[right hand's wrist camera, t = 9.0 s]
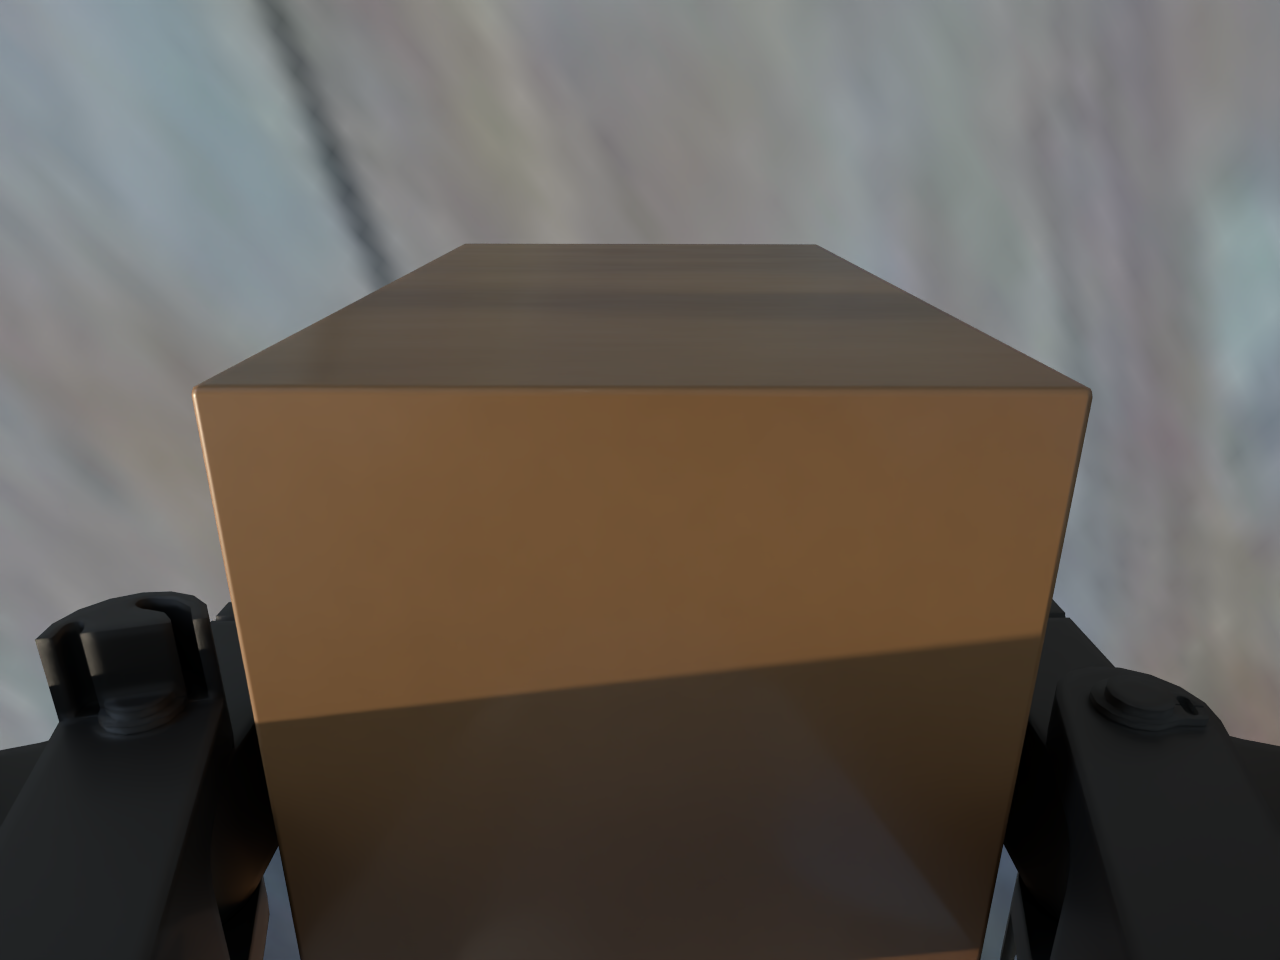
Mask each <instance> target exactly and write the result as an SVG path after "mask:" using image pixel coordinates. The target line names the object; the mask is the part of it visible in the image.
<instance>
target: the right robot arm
mask: <svg viewBox="0 0 1280 960" xmlns="http://www.w3.org/2000/svg"><path fill="white" fill-rule="evenodd" d="M35 641H36V644H37V648H38V651H39V655H40V658H41V661H42V665H43V668H44V672H45V675H46V678H47V682H48V685H49V688H50V692H51V695H52V699H53V702H54V705H55V709H56V712H57V716H58V719H59V723H58V725H57V727H56V729H55V730H54V732H53V734H52V736H51V738H50V739H49V741H45V742H41V743H37V744H31V745H26V746H21V747H16V748H10V749H5V750H0V960H263V956H264V949H265V942H266V935H267V928H268V921H269V906H268V899H267V893H266V888H265V883H264V878H263V874H264V873H265V871H266V869H267V867H268V865H269V863H270V861H271V859H272V857H273V855H274V853H275V851H276V849H277V848H278V846H279V845H278V840H277V835H276V829H275V824H274V819H273V814H272V809H271V804H270V798H269V793H268V788H267V783H266V778H265V772H264V767H263V762H262V757H261V752H260V747H259V741H258V736H257V731H256V726H255V721H254V716H253V710H252V705H251V700H250V695H249V690H248V684H247V679H246V674H245V669H244V664H243V659H242V653H241V648H240V643H239V638H238V633H237V627H236V622H235V617H234V612H233V607H232V602H229V603H228V604H227V605H226V606H225V607H224V608H223V609H222V610H221V611H220V612H219V614H218V615H217V616H216V621H211V622H210V619H209V614H208V610H207V605H206V604H205V603H203V602H202V601H201V600H199V599H198V598H196V597H195V596H193V595H187V594H182V593H177V592H146V593H138V594H133V595H128V596H123V597H117V598H112V599H109V600H106V601H103V602H100V603H97V604H94V605H91V606H88V607H85V608H82V609H79V610H77V611H75V612H74V613H72V614H70V615H68V616H66V617H64V618H62V619H61V620H59V621H57V622H55V623H53V624H52V625H51V626H50V627H48V628H47V629H46V630H45V631H44V632H43V633H42V634H41V635H40V636H39V637H38V638H37V639H35ZM1003 844H1004V846H1005V848H1006V850H1007V851H1008V853H1009V855H1010V857H1011V859H1012V861H1013V863H1014V865H1015V867H1016V869H1017V871H1018V874H1017V878H1016V883H1015V888H1014V893H1013V898H1012V902H1011V907H1010V912H1009V917H1008V922H1007V926H1006V931H1005V936H1004V941H1003V946H1002V950H1001V957H1000V960H1014V957H1015V955H1016V954H1017V960H1280V746H1276V745H1270V744H1265V743H1260V742H1255V741H1249V740H1244V739H1240V738H1236V737H1232V736H1229V734H1228V732H1227V731H1226V729H1225V727H1224V725H1223V724H1222V722H1221V720H1220V719H1219V718H1218V717H1217V716H1216V715H1215V713H1214V712H1213V711H1212V710H1211V709H1210V708H1209V707H1208V706H1207V704H1206V703H1204V702H1203V701H1201V700H1200V699H1198V698H1197V697H1195V696H1194V695H1192V694H1190V693H1189V692H1187V691H1186V690H1184V689H1183V688H1181V687H1179V686H1177V685H1174V684H1172V683H1169V682H1167V681H1164V680H1162V679H1160V678H1157V677H1155V676H1152V675H1149V674H1145V673H1141V672H1136V671H1132V670H1127V669H1123V668H1115V667H1114V666H1113V665H1112V663H1111V662H1110V661H1109V660H1108V659H1107V658H1106V657H1105V656H1104V655H1103V654H1102V653H1101V651H1100V650H1099V649H1098V648H1097V647H1096V646H1095V645H1094V644H1093V643H1092V642H1091V641H1090V639H1089V638H1088V637H1087V636H1086V635H1085V634H1084V633H1083V632H1082V631H1081V630H1080V629H1079V628H1078V626H1077V625H1076V624H1075V623H1074V622H1073V621H1072V620H1071V619H1070V618H1065V612H1064V611H1063V610H1062V609H1061V608H1060V607H1059V606H1058V605H1057V604H1056V602H1055V601H1054V600H1053V599H1052V603H1051V608H1050V613H1049V618H1048V623H1047V628H1046V633H1045V638H1044V643H1043V648H1042V653H1041V658H1040V663H1039V668H1038V673H1037V678H1036V683H1035V688H1034V693H1033V698H1032V703H1031V708H1030V713H1029V718H1028V723H1027V728H1026V733H1025V738H1024V743H1023V748H1022V753H1021V758H1020V763H1019V768H1018V773H1017V778H1016V783H1015V788H1014V793H1013V798H1012V803H1011V808H1010V813H1009V818H1008V823H1007V828H1006V833H1005V838H1004V843H1003Z"/></svg>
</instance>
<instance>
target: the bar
mask: <svg viewBox="0 0 1280 960" xmlns="http://www.w3.org/2000/svg"><path fill="white" fill-rule="evenodd" d="M192 400H193V405H194V410H195V415H196V420H197V426H198V431H199V436H200V441H201V446H202V451H203V457H204V462H205V467H206V472H207V477H208V482H209V488H210V493H211V498H212V503H213V508H214V514H215V519H216V524H217V529H218V534H219V539H220V545H221V550H222V555H223V560H224V565H225V571H226V576H227V581H228V586H229V591H230V596H231V602H232V607H233V612H234V617H235V622H236V627H237V633H238V638H239V643H240V648H241V653H242V659H243V664H244V669H245V674H246V679H247V684H248V690H249V695H250V700H251V705H252V710H253V716H254V721H255V726H256V731H257V736H258V741H259V747H260V752H261V757H262V762H263V767H264V772H265V778H266V783H267V788H268V793H269V798H270V804H271V809H272V814H273V819H274V824H275V829H276V835H277V840H278V845H279V850H280V855H281V861H282V866H283V871H284V876H285V881H286V886H287V892H288V897H289V902H290V907H291V912H292V917H293V923H294V928H295V933H296V938H297V943H298V949H299V954H300V959H301V960H980V958H981V953H982V948H983V943H984V938H985V933H986V928H987V923H988V918H989V913H990V908H991V903H992V898H993V893H994V888H995V883H996V878H997V873H998V868H999V863H1000V858H1001V853H1002V848H1003V843H1004V838H1005V833H1006V828H1007V823H1008V818H1009V813H1010V808H1011V803H1012V798H1013V793H1014V788H1015V783H1016V778H1017V773H1018V768H1019V763H1020V758H1021V753H1022V748H1023V743H1024V738H1025V733H1026V728H1027V723H1028V718H1029V713H1030V708H1031V703H1032V698H1033V693H1034V688H1035V683H1036V678H1037V673H1038V668H1039V663H1040V658H1041V653H1042V648H1043V643H1044V638H1045V633H1046V628H1047V623H1048V618H1049V613H1050V608H1051V603H1052V598H1053V593H1054V588H1055V583H1056V578H1057V573H1058V568H1059V563H1060V558H1061V553H1062V548H1063V543H1064V538H1065V533H1066V528H1067V522H1068V517H1069V512H1070V507H1071V502H1072V497H1073V492H1074V487H1075V482H1076V477H1077V472H1078V467H1079V462H1080V457H1081V452H1082V447H1083V442H1084V437H1085V432H1086V427H1087V422H1088V417H1089V412H1090V407H1091V402H1092V391H1091V389H1090V388H1088V387H1086V386H1084V385H1082V384H1080V383H1079V382H1077V381H1075V380H1073V379H1071V378H1069V377H1067V376H1065V375H1063V374H1061V373H1060V372H1058V371H1056V370H1054V369H1052V368H1050V367H1048V366H1046V365H1044V364H1042V363H1041V362H1039V361H1037V360H1035V359H1033V358H1031V357H1029V356H1027V355H1025V354H1023V353H1022V352H1020V351H1018V350H1016V349H1014V348H1012V347H1010V346H1008V345H1006V344H1004V343H1003V342H1001V341H999V340H997V339H995V338H993V337H991V336H989V335H987V334H985V333H983V332H982V331H980V330H978V329H976V328H974V327H972V326H970V325H968V324H966V323H964V322H963V321H961V320H959V319H957V318H955V317H953V316H951V315H949V314H947V313H945V312H944V311H942V310H940V309H938V308H936V307H934V306H932V305H930V304H928V303H926V302H925V301H923V300H921V299H919V298H917V297H915V296H913V295H911V294H909V293H907V292H906V291H904V290H902V289H900V288H898V287H896V286H894V285H892V284H890V283H888V282H887V281H885V280H883V279H881V278H879V277H877V276H875V275H873V274H871V273H869V272H868V271H866V270H864V269H862V268H860V267H858V266H856V265H854V264H852V263H850V262H849V261H847V260H845V259H843V258H841V257H839V256H837V255H835V254H833V253H831V252H829V251H828V250H826V249H824V248H822V247H820V246H818V245H789V244H464V245H462V246H460V247H458V248H456V249H454V250H452V251H450V252H449V253H447V254H445V255H443V256H441V257H439V258H437V259H435V260H433V261H432V262H430V263H428V264H426V265H424V266H422V267H420V268H418V269H416V270H414V271H413V272H411V273H409V274H407V275H405V276H403V277H401V278H399V279H397V280H395V281H394V282H392V283H390V284H388V285H386V286H384V287H382V288H380V289H378V290H377V291H375V292H373V293H371V294H369V295H367V296H365V297H363V298H361V299H359V300H358V301H356V302H354V303H352V304H350V305H348V306H346V307H344V308H342V309H341V310H339V311H337V312H335V313H333V314H331V315H329V316H327V317H325V318H323V319H322V320H320V321H318V322H316V323H314V324H312V325H310V326H308V327H306V328H305V329H303V330H301V331H299V332H297V333H295V334H293V335H291V336H289V337H287V338H286V339H284V340H282V341H280V342H278V343H276V344H274V345H272V346H270V347H269V348H267V349H265V350H263V351H261V352H259V353H257V354H255V355H253V356H251V357H250V358H248V359H246V360H244V361H242V362H240V363H238V364H236V365H234V366H232V367H231V368H229V369H227V370H225V371H223V372H221V373H219V374H217V375H215V376H214V377H212V378H210V379H208V380H206V381H204V382H202V383H200V384H198V385H196V386H195V387H194V388H193V390H192Z"/></svg>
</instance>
